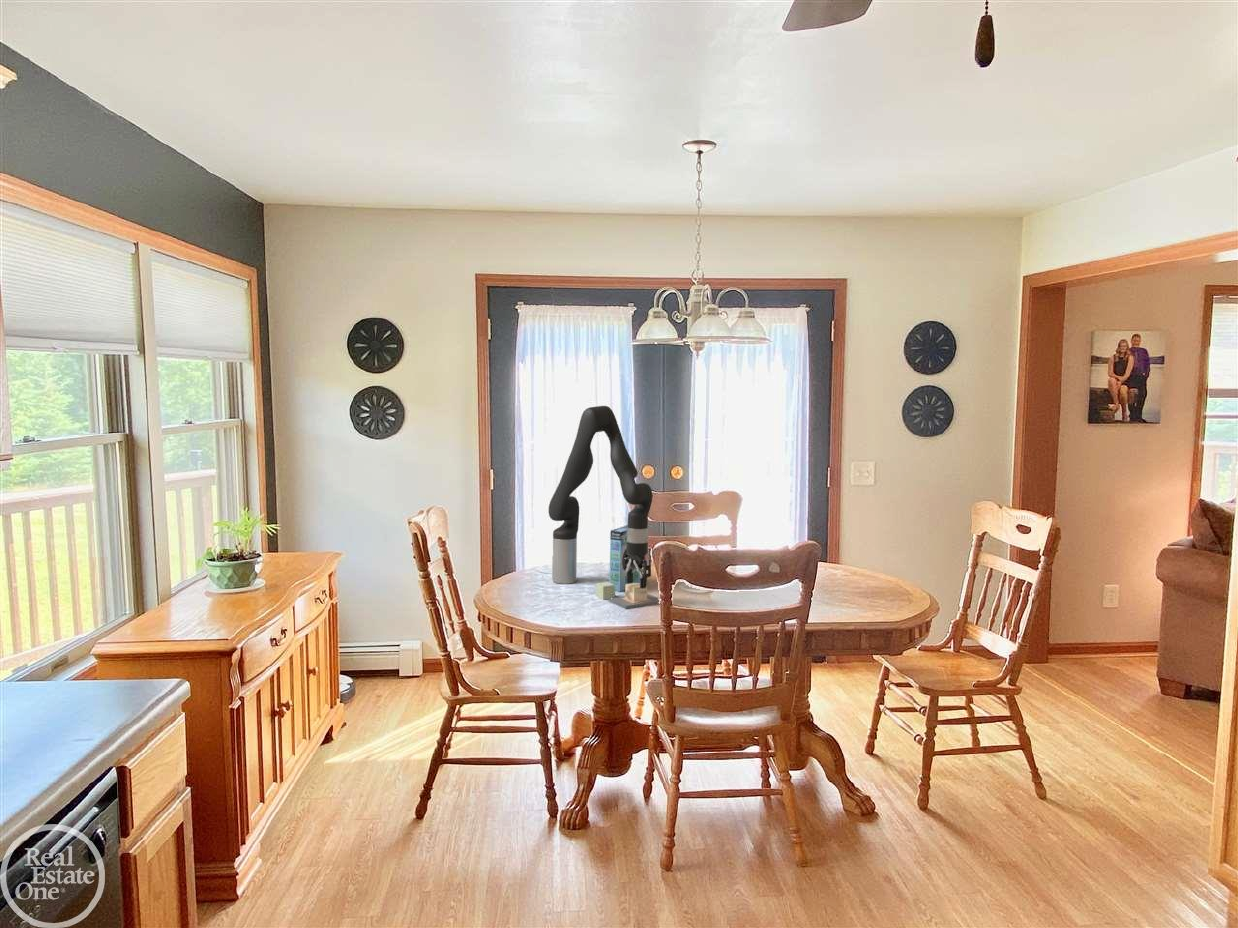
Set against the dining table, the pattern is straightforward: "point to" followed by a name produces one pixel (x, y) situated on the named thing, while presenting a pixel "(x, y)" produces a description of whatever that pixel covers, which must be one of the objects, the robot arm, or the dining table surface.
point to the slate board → (630, 604)
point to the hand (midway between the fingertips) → (636, 585)
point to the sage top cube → (605, 590)
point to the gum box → (619, 559)
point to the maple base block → (635, 592)
